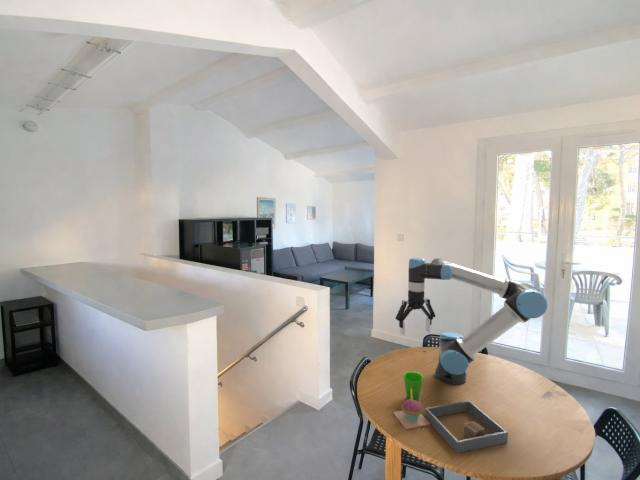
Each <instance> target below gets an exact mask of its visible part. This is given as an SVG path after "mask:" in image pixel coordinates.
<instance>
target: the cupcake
mask: <svg viewBox="0 0 640 480" xmlns="http://www.w3.org/2000/svg"><path fill="white" fill-rule="evenodd" d="M401 410H403V411H404V412H405V415H406V418H407V419H408V420H411V421H416V420H417V419H418V417H419V415H420V414H422V415H423V411H424V406H423V404H422V403H421V401H419V400H418V401H416V400H414V399H412V389H411V399H406V400H404V401H403V403H402V405H401Z"/></svg>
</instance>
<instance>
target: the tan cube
mask: <svg viewBox="0 0 640 480" xmlns="http://www.w3.org/2000/svg"><path fill="white" fill-rule="evenodd" d="M485 431H486V429H485V428H484V427H483V426H481V425H480V424H479V423H477V422H476V421H471V422H468V423H465V424H464V426H463V437H464V438H465V439H469V438H474V437H479V436H484V435H486V434H485V433H486V432H485Z"/></svg>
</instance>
